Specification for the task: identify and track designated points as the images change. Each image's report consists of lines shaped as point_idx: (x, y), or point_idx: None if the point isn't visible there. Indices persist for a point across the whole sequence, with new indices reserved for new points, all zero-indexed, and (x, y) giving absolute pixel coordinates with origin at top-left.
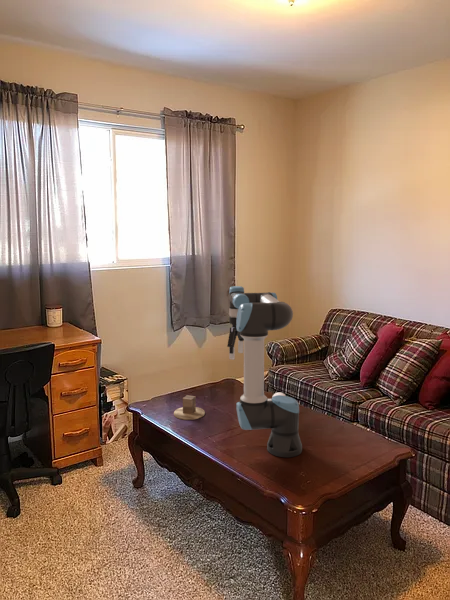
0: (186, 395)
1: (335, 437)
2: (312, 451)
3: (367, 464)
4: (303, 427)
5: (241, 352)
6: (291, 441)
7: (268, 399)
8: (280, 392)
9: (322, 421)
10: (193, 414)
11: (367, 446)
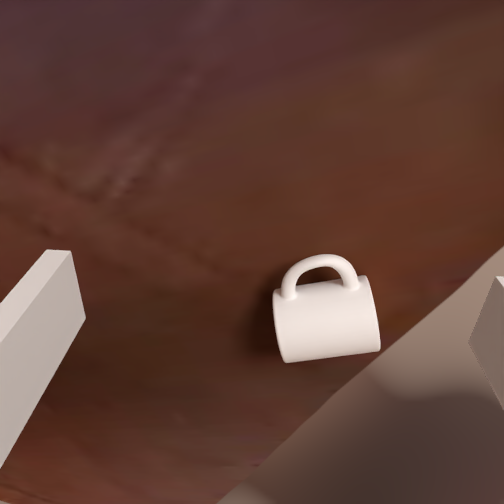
0: None
1: (142, 453)
2: None
3: (32, 499)
4: (173, 385)
5: (480, 331)
6: None
7: (342, 274)
8: (376, 342)
9: (249, 424)
10: None
11: (126, 501)
